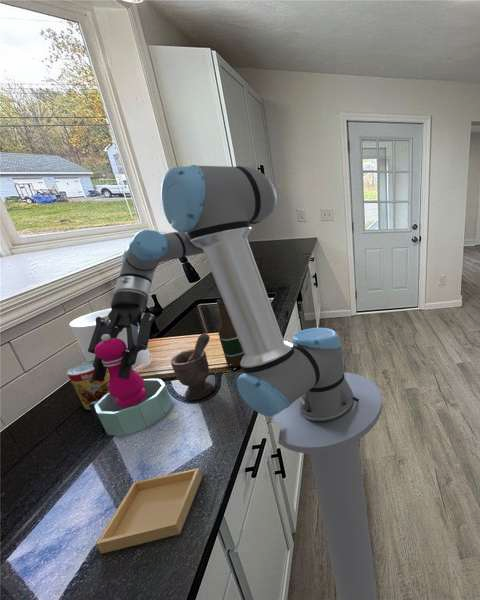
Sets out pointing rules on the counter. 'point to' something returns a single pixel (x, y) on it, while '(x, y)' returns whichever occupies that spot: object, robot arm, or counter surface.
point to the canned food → (88, 383)
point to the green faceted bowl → (133, 410)
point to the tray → (151, 510)
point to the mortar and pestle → (193, 369)
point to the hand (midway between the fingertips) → (110, 378)
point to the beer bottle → (229, 338)
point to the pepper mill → (119, 388)
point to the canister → (84, 333)
